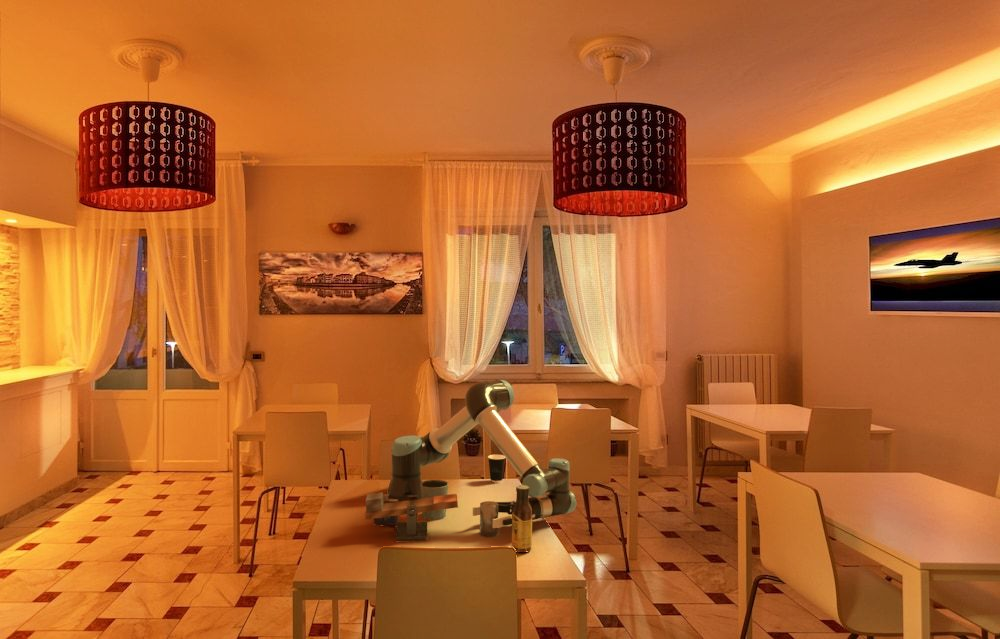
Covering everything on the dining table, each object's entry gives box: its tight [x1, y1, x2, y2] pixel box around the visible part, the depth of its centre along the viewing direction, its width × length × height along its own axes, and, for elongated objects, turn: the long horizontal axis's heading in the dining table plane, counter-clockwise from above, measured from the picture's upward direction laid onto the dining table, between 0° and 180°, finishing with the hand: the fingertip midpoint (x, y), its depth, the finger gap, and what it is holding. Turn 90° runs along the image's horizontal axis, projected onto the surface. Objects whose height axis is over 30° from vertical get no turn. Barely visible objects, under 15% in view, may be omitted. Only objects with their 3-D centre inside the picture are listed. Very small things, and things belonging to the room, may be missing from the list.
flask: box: [373, 493, 400, 528], centre depth 208 cm, size 9×3×11 cm, turn 74°
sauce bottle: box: [511, 484, 533, 553], centre depth 186 cm, size 6×6×20 cm
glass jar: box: [479, 500, 499, 538], centre depth 200 cm, size 6×6×10 cm
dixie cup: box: [487, 454, 507, 484], centre depth 264 cm, size 8×8×11 cm
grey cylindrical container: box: [421, 479, 449, 521], centre depth 217 cm, size 10×10×12 cm
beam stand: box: [395, 495, 428, 542], centre depth 199 cm, size 10×14×11 cm
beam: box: [364, 491, 459, 520], centre depth 199 cm, size 30×9×6 cm, turn 96°
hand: (482, 517), depth 198 cm, fingers open, 13 cm apart
